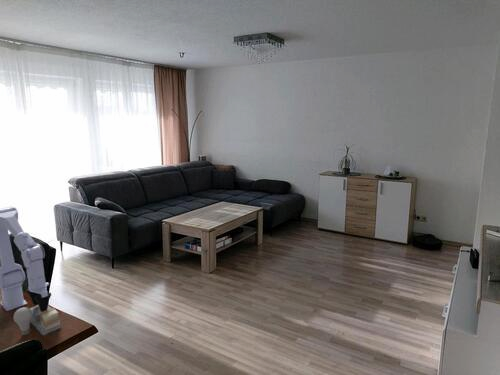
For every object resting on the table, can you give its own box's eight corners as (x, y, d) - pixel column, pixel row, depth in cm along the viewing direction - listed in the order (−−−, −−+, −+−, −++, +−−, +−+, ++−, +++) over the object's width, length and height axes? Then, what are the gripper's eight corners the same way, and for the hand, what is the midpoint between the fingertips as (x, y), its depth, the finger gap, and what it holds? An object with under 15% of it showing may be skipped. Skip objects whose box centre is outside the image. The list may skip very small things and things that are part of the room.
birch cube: (39, 312, 138) (44, 317, 135) (53, 307, 142) (58, 312, 139) (40, 324, 139) (45, 329, 136) (54, 319, 143) (59, 323, 140)
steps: (29, 321, 146) (27, 309, 145) (47, 314, 151) (45, 302, 150) (43, 335, 137) (41, 322, 136) (60, 327, 142) (59, 314, 141)
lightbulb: (26, 340, 134) (22, 313, 132) (12, 338, 136) (8, 311, 133) (39, 330, 140) (35, 305, 138) (25, 328, 141) (21, 303, 139)
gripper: (54, 278, 140) (58, 309, 143) (40, 267, 149) (44, 297, 152) (34, 284, 135) (39, 317, 138) (21, 273, 144) (25, 304, 147)
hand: (40, 307), depth 145 cm, fingers open, 7 cm apart
